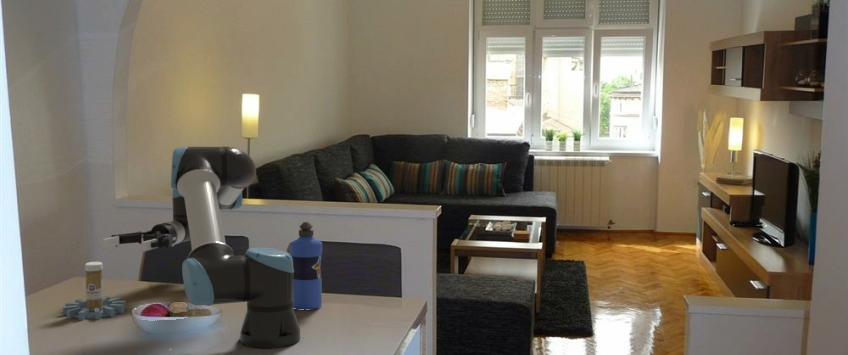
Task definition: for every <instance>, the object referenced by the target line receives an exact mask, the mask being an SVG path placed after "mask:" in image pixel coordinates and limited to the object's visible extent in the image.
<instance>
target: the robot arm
mask: <svg viewBox="0 0 848 355" xmlns="http://www.w3.org/2000/svg"><path fill="white" fill-rule="evenodd" d="M171 157H172V158H171V159H172V160H171V172H170V174H171V175H170V187H171V188H172V195H171V196H172V197H171V198H172V199H171V200H172V220H170V221H166V222H163V223H162V222H161V223H158V224H155V225H153V227H152V228H151V230H147V231H140V230H139V231H135V232H130V233H119V234H112V235H111V236H110V237H107V238H103V239H102V241H101V242H102V249H104V250H105V249H108V248H113V247H117V248H118V247H119V246H120V245H124V244H125V245H127V244H136V243H138V244H140V245H141V246H140V248H141V252H142V253H143V252H148V251H152V250H155V249H158V248H160V249H164V248H167V249H169V248H170V247H174V246H175V245H177V244H178V245H179V244H181V243H184V242H185V243H186V242H190V246H191V247H190V248H191V251H190V252H189V253H188V256H187V258H186V259H185V260H183V262H182V269H181V271H182V272H181V274H182V280H183V286H184V292H185V295H186V298H187V301H188V302H189V303H190V304H191V305H193V306H207V307H210V306H214V305H224V304H225V305H226V304H233V303H236V304H237V303H245V302H246V313H245V316H244V319H243V322H242V326H241V328H240V333H239V336H240V339H239V341H240V342H241V344H243V345H244V346H248V347H251V348H257V349H258V348H259V349H260V348H261V349H272V348H276V349H277V348H283V347H287V346H290V345H291V346H292V345H294V344H296V343H297V342H298V341H300V340H301V328H300V325H299V321H298V319H297V316H296V314H295V313H296V312H295V310H294V309H293V273H294V269H293V259H292V256H291V255H290V252H287V251H285V250H282V249H278V248H270V247H261V246H260V247H259V246H257V247H250V248H248V249H246V252H245V254H244V255H243V254H242V255H235V253H234V250H233V249H232V247H230V245H228V244H227V243H226V237H225V233H224V227H223V222H222V221H223V220H222V216H221V211H220V210H231V211H232V210H237V209H241V207H242V205H243V191H244V189H245V188H248V187H249V186H250V185H251V184H252V183H253V182H254V180H255V178H256V174H257V167H256V164H255V162H254V160H253V159H252V158H251V156H250V155H249V154H247V153H246V152H244V151H243V150H241V149H239V148H236V147H232V146H187V145H186V146H183V147H176V148H175V149H173V151H172V156H171ZM142 240H143V241H142Z"/></svg>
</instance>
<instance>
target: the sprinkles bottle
mask: <svg viewBox="0 0 848 355" xmlns="http://www.w3.org/2000/svg"><path fill="white" fill-rule="evenodd" d="M84 264H85V265H84V270H85V298H86V300H85V301H87V308H86V309H89V311H94V308H99V310H102V309H103V298H104V294H103V293H104V290H103V269H104V266H103V263H102V262H101V261H90V262H86V263H84Z"/></svg>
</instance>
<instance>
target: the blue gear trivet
mask: <svg viewBox="0 0 848 355" xmlns="http://www.w3.org/2000/svg"><path fill="white" fill-rule="evenodd" d="M86 308H87V300H83V299H80V298H78V299H75V300H74V302H66V303H65V305H64V306H62V316H63V317H64V316H66V319H69V320H70V319H78V320H79V321H85V320H90V319H92V320H93V319H94V320H95V321H96V320H101V318H107V317H110V318H114V317H116V315H117V314H124V313H125V310H127V302H126V300H122V298H121V297H116V298H115V297H114V298H112V299H111V298H110V296H103V309H102V310H99V308H94V311H89V309H86Z"/></svg>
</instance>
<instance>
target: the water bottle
mask: <svg viewBox="0 0 848 355" xmlns="http://www.w3.org/2000/svg"><path fill="white" fill-rule="evenodd" d="M299 228H300V229H298V236H299V237H298V238H297V239H294V240H293V241H291V242H289V254H290V255H291V256H292V259H293V269H294V273H293V308H296V309H304V310H306V309H316V308H319V307H321V308H322V306H321V305H322V304H323V303H322V302H323V301H322V298H323V297H322V293H323V292H322V289H323V288H322V287H323V286H322V283H323V282H322V279H323V278H322V272H321V264H322V263H321V261H322V254H323V242H322V241H320V240H318V239H316V238H315V237H314V229H312V228H313V225H312V224H311V223H310V222H308V221H305V222H302V223H301V224H300V225H299ZM319 309H320V308H319ZM316 310H317V309H316Z"/></svg>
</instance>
